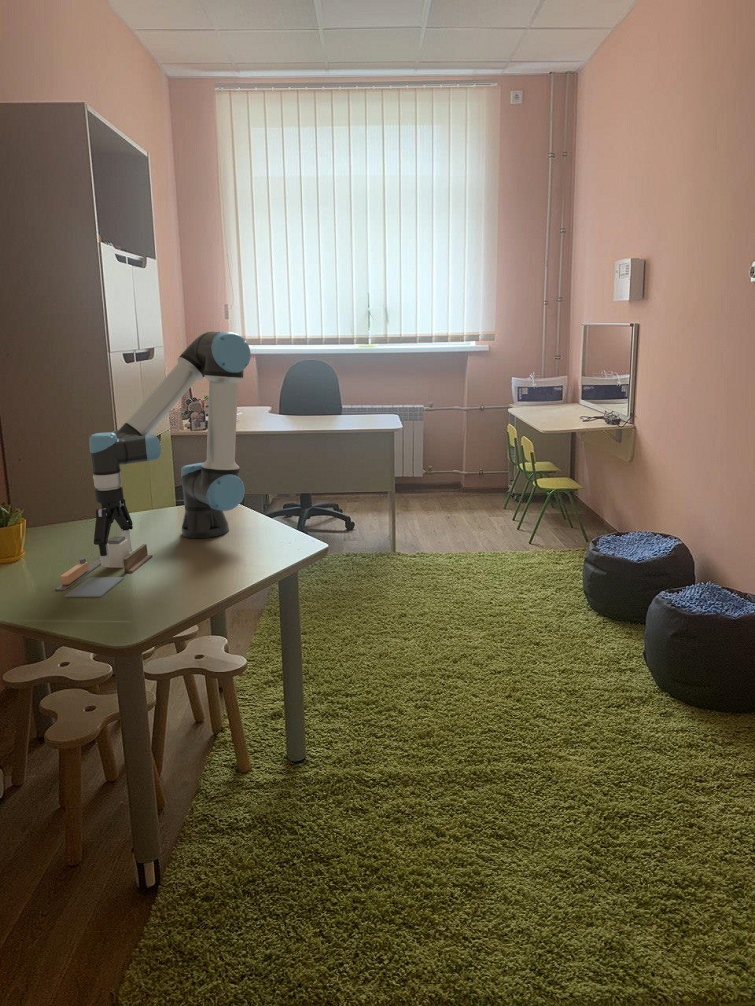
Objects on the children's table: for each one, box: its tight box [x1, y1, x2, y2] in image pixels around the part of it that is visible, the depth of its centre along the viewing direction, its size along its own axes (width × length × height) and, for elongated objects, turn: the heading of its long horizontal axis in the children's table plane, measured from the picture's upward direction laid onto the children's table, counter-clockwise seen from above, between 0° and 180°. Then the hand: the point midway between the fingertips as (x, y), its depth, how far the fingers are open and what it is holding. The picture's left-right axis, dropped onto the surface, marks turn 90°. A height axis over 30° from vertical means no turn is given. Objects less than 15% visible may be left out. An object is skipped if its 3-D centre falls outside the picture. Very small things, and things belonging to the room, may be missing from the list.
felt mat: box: [64, 576, 125, 598], centre depth 214 cm, size 10×14×1 cm
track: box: [54, 557, 101, 591], centre depth 227 cm, size 3×28×1 cm, turn 173°
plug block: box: [106, 536, 131, 569], centre depth 232 cm, size 5×5×8 cm
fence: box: [123, 543, 153, 574], centre depth 231 cm, size 2×14×4 cm, turn 173°
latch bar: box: [59, 557, 90, 585], centre depth 221 cm, size 2×12×4 cm, turn 173°
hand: (117, 558), depth 232 cm, fingers open, 13 cm apart
